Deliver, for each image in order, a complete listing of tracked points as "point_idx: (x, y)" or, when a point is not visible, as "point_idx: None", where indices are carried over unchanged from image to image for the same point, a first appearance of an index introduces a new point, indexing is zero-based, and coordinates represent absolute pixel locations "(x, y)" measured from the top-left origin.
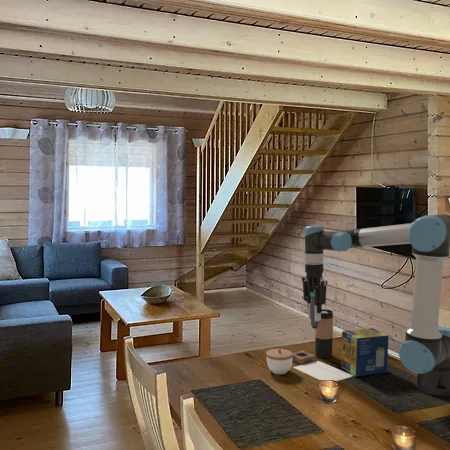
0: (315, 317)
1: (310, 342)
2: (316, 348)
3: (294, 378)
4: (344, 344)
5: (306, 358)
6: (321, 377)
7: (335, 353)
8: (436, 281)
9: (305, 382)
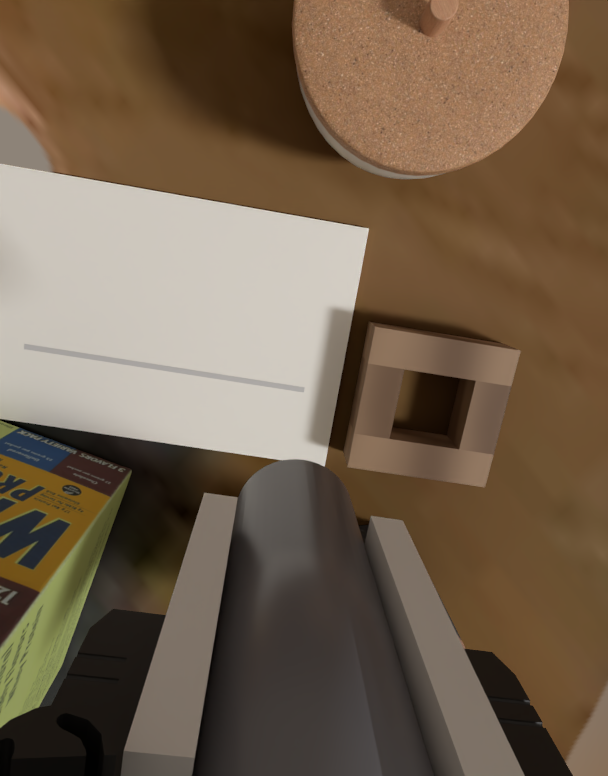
0: (207, 525)
1: (588, 708)
2: None
3: (225, 62)
4: (8, 549)
5: (363, 382)
6: (97, 220)
7: None
8: None
9: (118, 61)
